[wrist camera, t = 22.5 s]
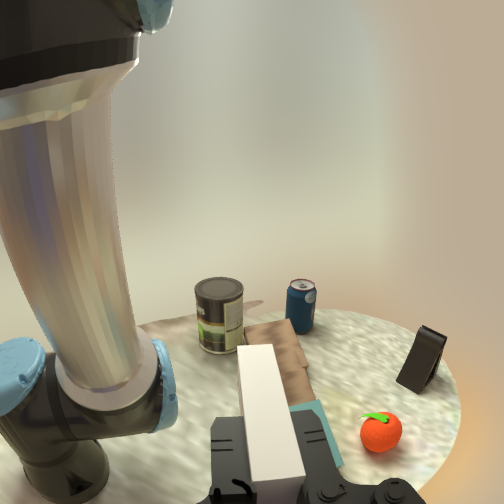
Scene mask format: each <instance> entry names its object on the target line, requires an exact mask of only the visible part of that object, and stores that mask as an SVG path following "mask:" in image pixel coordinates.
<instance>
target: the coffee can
mask: <svg viewBox="0 0 504 504" xmlns="http://www.w3.org/2000/svg"><path fill="white" fill-rule="evenodd" d="M243 289H244V288H243V285H242V283H241V282H239V281H237V280H235V279H232V278H227V277H213V278H208V279H205V280H202V281H200V282H199V283H198V284H197V285H196V286H195V294H196V305H197V306H196V307H197V319H198V330H199V344H200V346H201V347H202V348H203V349H204V350H205V351H207V352H210V353H213V354H228V353H232V352H234V351H236V350H237V346H242V344H243Z"/></svg>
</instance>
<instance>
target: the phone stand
mask: <svg viewBox="0 0 504 504" xmlns="http://www.w3.org/2000/svg"><path fill="white" fill-rule="evenodd" d="M446 340H447V337H446V336H444V335H442V334H440V333H438V332H436V331H434V330H432V329H430V328H428V327H426V326H424V325H422V327H420V328H419V330H418V332H417V334H416V338H415V341H414V343H413V346H412V348H411V350H410V352H409V354H408V357H407V359H406V361H405V363H404V365H403V367H402V369H401V371H400V373H399V375H398V377H397V379H396V382H398V383H400V384H402V385H403V386H405V387H407V388H408V389H410V390H412V391H414V392H415V393H417V394H419V393H420V392H421V391H422V390H423V388H424V387H425V386H426V385H427V384H428V383H429V382H430V380H431V379H432V378H433V377H434V376H435V374H436V373H437V370H438V366H439V363H440V360H441V356H442V352H443V349H444V345H445V343H446Z"/></svg>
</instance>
